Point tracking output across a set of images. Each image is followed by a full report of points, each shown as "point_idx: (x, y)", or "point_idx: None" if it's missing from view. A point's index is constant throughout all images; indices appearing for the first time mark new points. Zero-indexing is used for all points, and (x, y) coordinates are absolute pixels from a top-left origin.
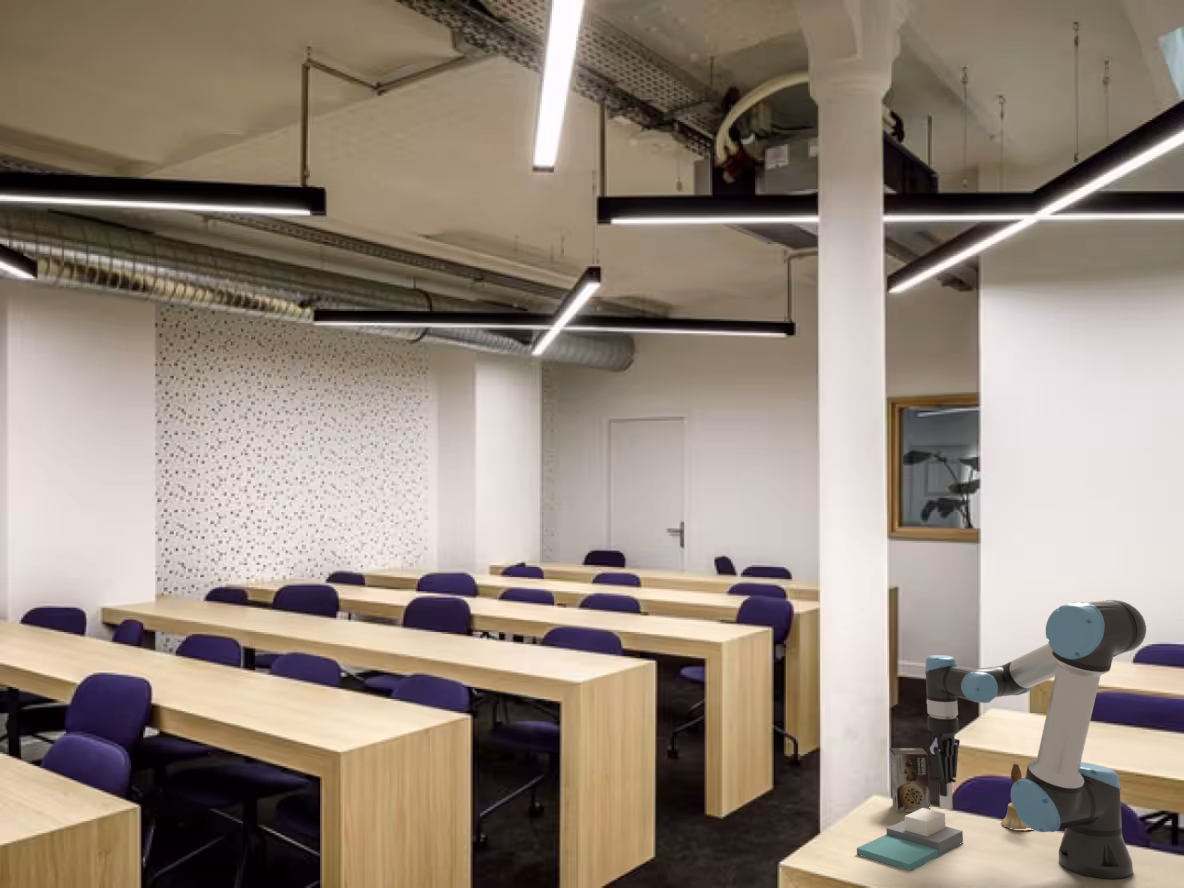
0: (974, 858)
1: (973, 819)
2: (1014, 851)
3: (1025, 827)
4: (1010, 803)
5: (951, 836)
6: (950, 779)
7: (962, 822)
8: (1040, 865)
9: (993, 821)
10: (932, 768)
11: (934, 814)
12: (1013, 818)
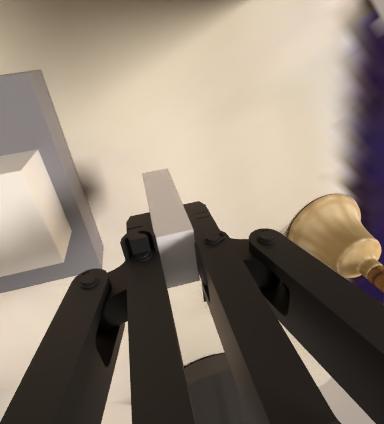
0: (44, 317)
1: (302, 138)
2: None
3: None
4: (358, 252)
5: (27, 286)
6: (203, 289)
7: (255, 136)
8: None
9: (320, 179)
10: (26, 382)
11: (7, 254)
12: (314, 249)
